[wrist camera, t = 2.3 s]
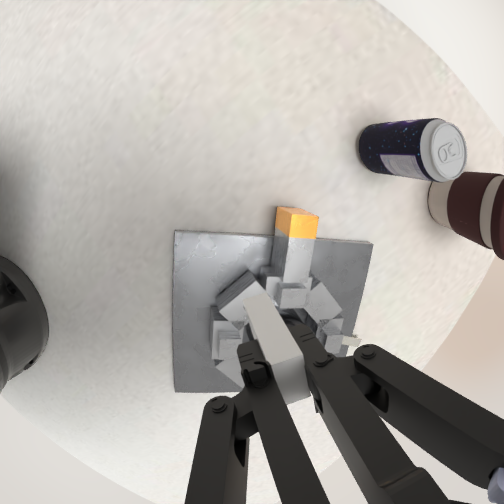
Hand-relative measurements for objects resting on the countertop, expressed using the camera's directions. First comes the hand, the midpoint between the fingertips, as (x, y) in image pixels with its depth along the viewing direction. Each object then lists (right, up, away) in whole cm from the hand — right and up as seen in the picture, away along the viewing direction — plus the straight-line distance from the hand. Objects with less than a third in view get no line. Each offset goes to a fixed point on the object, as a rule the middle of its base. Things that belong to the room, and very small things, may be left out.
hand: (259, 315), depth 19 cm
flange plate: (+3, -3, +16) cm, 17 cm away
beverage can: (+13, +16, +13) cm, 25 cm away
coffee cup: (+26, +11, +17) cm, 33 cm away
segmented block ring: (+2, -1, +15) cm, 15 cm away
